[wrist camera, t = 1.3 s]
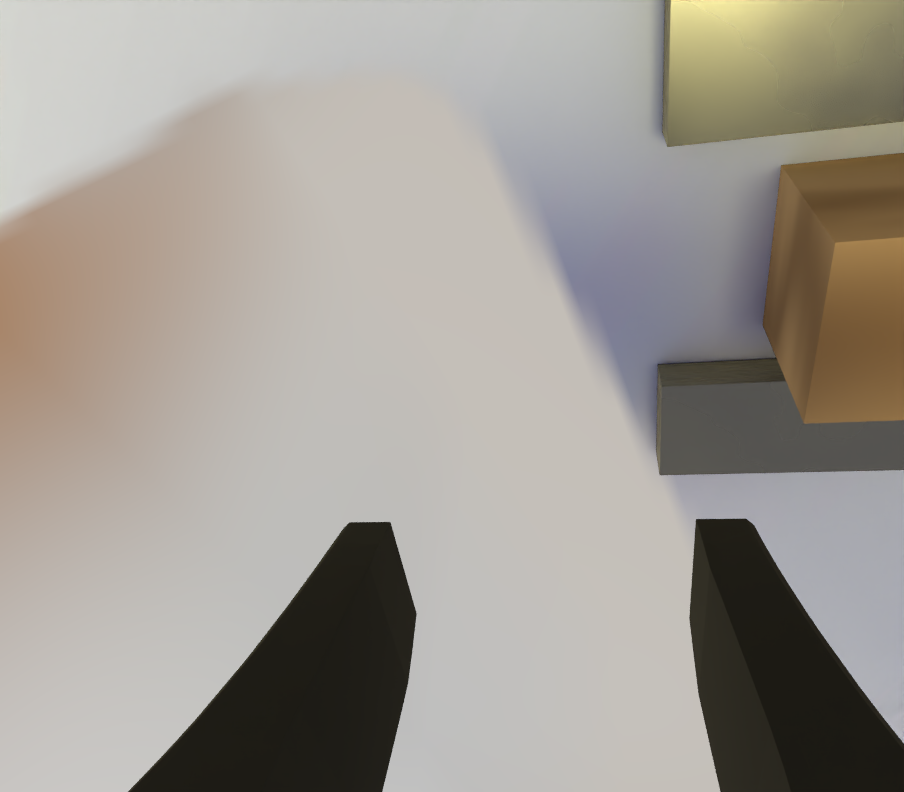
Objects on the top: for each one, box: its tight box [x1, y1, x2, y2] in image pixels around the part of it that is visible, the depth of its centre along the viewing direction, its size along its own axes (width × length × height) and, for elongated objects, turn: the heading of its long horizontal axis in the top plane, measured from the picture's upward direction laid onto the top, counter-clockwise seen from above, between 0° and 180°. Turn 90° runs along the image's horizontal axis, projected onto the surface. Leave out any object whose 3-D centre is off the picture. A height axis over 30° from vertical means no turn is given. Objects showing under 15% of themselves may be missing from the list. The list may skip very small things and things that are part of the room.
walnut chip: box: [763, 153, 904, 424], centre depth 15 cm, size 4×4×4 cm
